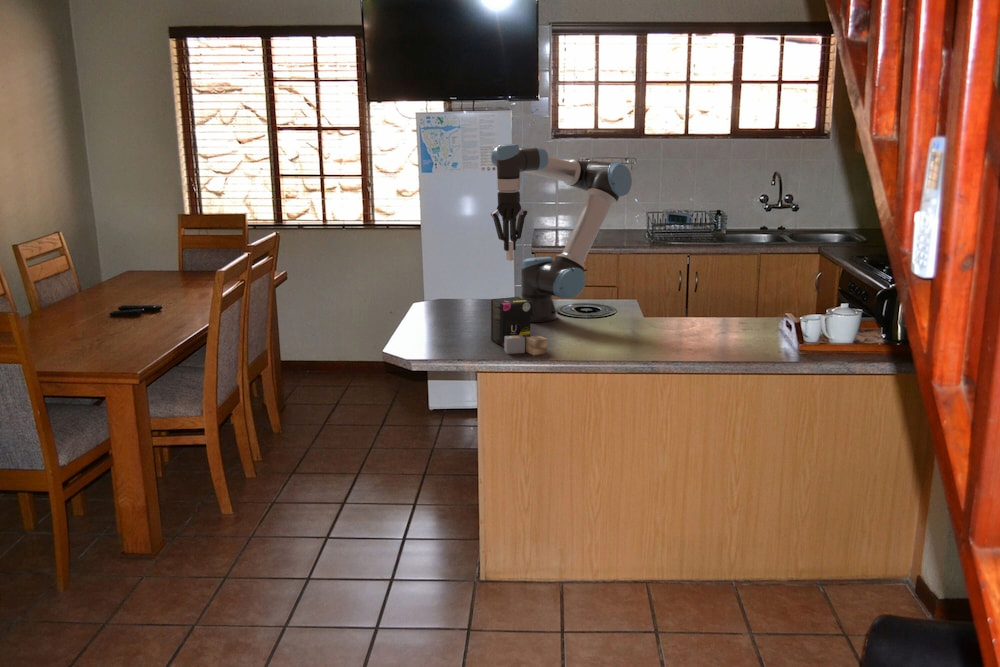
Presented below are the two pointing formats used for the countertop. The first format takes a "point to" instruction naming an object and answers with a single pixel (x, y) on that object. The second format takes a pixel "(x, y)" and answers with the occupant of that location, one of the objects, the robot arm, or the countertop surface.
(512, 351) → the light grey block
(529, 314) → the tampon box
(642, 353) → the countertop surface
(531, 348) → the beech cube
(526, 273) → the robot arm
